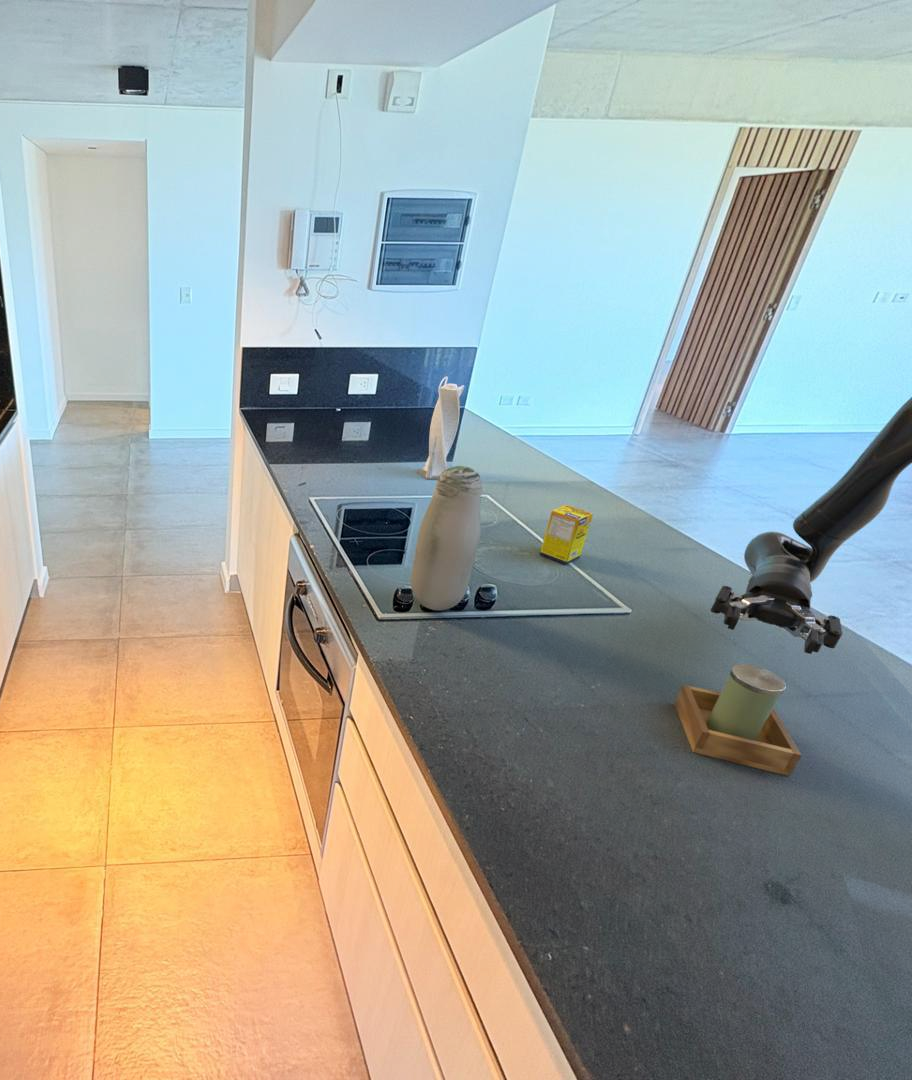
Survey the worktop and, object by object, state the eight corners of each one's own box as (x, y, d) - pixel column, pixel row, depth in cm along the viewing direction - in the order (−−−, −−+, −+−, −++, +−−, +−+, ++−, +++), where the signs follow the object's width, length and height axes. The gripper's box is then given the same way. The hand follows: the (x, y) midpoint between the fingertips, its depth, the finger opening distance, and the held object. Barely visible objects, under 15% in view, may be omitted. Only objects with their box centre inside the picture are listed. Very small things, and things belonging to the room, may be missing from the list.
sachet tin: (729, 717, 90) (757, 662, 85) (765, 745, 85) (797, 689, 80) (694, 720, 89) (721, 665, 85) (729, 749, 84) (759, 692, 80)
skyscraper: (414, 469, 186) (431, 376, 173) (440, 468, 186) (458, 375, 174) (427, 479, 178) (445, 382, 166) (453, 478, 179) (473, 381, 166)
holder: (760, 723, 90) (771, 703, 88) (789, 776, 81) (802, 755, 79) (673, 703, 94) (682, 684, 92) (692, 752, 85) (702, 731, 83)
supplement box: (579, 558, 135) (594, 513, 130) (565, 565, 132) (580, 519, 127) (552, 548, 140) (566, 503, 135) (538, 555, 137) (551, 510, 132)
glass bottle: (415, 586, 125) (440, 454, 112) (468, 602, 119) (501, 465, 107) (399, 607, 117) (424, 470, 105) (454, 625, 112) (488, 482, 100)
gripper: (827, 629, 96) (825, 678, 85) (713, 596, 105) (699, 637, 94) (850, 588, 93) (851, 633, 82) (731, 558, 101) (718, 595, 91)
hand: (770, 635), depth 88 cm, fingers open, 8 cm apart
